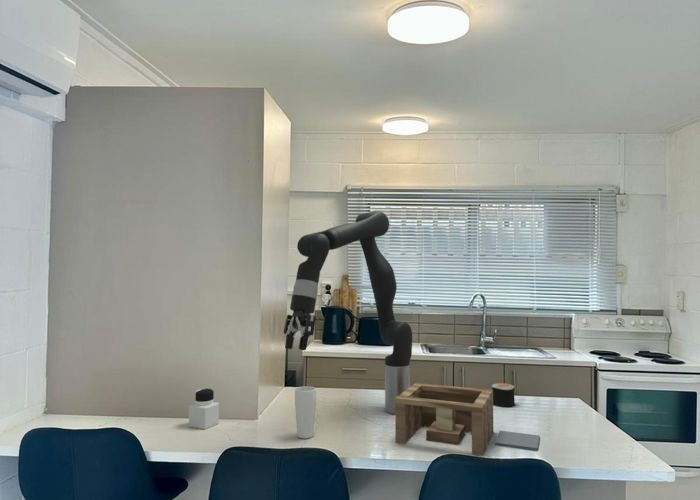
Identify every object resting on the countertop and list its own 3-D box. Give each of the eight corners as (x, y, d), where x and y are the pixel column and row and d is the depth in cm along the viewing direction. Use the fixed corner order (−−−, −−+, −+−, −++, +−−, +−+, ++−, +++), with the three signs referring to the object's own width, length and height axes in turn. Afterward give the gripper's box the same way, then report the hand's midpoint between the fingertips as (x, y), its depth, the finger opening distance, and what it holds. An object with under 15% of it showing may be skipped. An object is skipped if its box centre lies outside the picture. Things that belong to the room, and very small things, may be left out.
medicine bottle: (219, 423, 170) (219, 388, 170) (205, 429, 163) (205, 393, 164) (203, 421, 173) (203, 386, 173) (188, 427, 166) (188, 390, 167)
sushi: (496, 400, 199) (496, 380, 199) (517, 404, 194) (517, 383, 194) (489, 405, 192) (488, 384, 193) (510, 408, 187) (510, 387, 188)
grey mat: (499, 432, 160) (499, 430, 160) (539, 438, 155) (539, 435, 155) (494, 445, 149) (494, 442, 149) (537, 451, 144) (537, 448, 144)
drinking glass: (294, 433, 160) (295, 386, 161) (315, 432, 161) (316, 385, 161) (294, 440, 153) (294, 391, 154) (316, 439, 154) (316, 391, 154)
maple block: (440, 424, 159) (439, 402, 160) (455, 426, 157) (455, 404, 157) (436, 428, 155) (436, 406, 155) (452, 431, 153) (451, 408, 153)
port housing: (415, 422, 171) (415, 382, 172) (493, 432, 161) (492, 390, 161) (395, 442, 151) (395, 398, 152) (482, 455, 141) (482, 407, 141)
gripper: (327, 297, 149) (317, 352, 144) (303, 299, 160) (294, 350, 156) (305, 292, 145) (295, 348, 140) (283, 294, 156) (273, 346, 152)
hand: (295, 349), depth 148 cm, fingers open, 8 cm apart
